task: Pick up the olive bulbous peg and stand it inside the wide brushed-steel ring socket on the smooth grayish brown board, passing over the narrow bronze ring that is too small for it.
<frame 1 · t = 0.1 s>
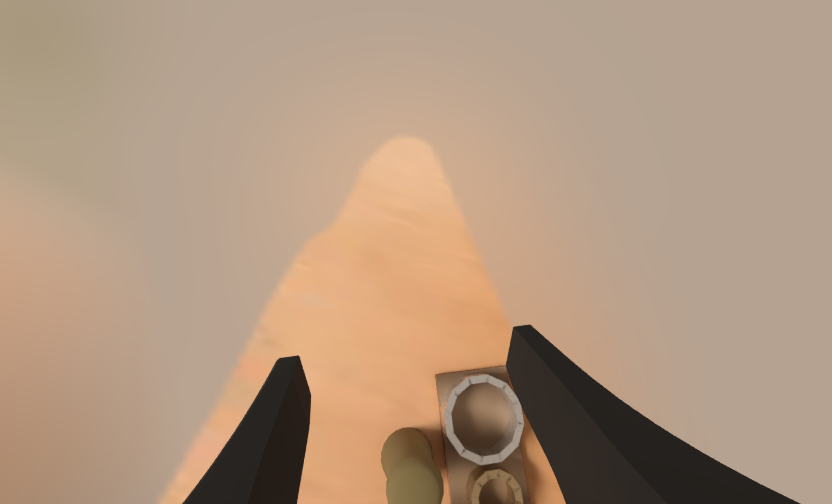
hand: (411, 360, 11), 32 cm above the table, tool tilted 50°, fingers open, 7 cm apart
wide steel ring: (478, 414, 40), resting on smooth grayish brown board
olive bulbous peg: (406, 455, 39), on the table
narrow bronze ring: (489, 490, 37), resting on smooth grayish brown board
smooth grayish brown board: (480, 444, 40), on the table
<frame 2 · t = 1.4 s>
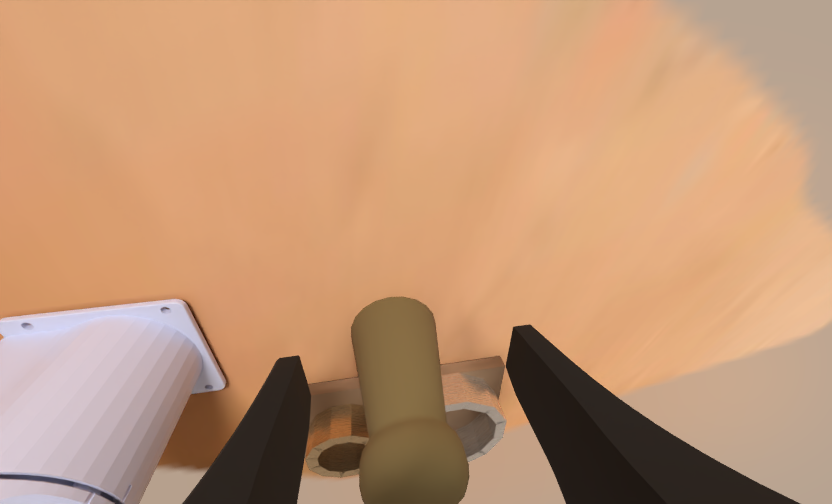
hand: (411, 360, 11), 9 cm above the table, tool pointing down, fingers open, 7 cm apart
wide steel ring: (441, 409, 28), resting on smooth grayish brown board
olive bulbous peg: (393, 327, 24), on the table
narrow bronze ring: (346, 425, 27), resting on smooth grayish brown board
smooth grayish brown board: (399, 405, 28), on the table
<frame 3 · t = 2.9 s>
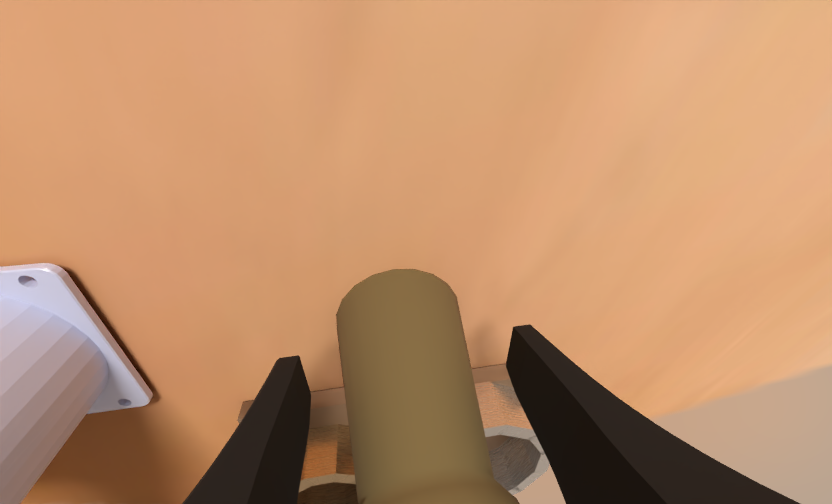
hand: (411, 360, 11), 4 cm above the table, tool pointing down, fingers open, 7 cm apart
wide steel ring: (462, 430, 20), resting on smooth grayish brown board
olive bulbous peg: (398, 316, 16), on the table
narrow bronze ring: (331, 452, 19), resting on smooth grayish brown board
smooth grayish brown board: (404, 424, 21), on the table
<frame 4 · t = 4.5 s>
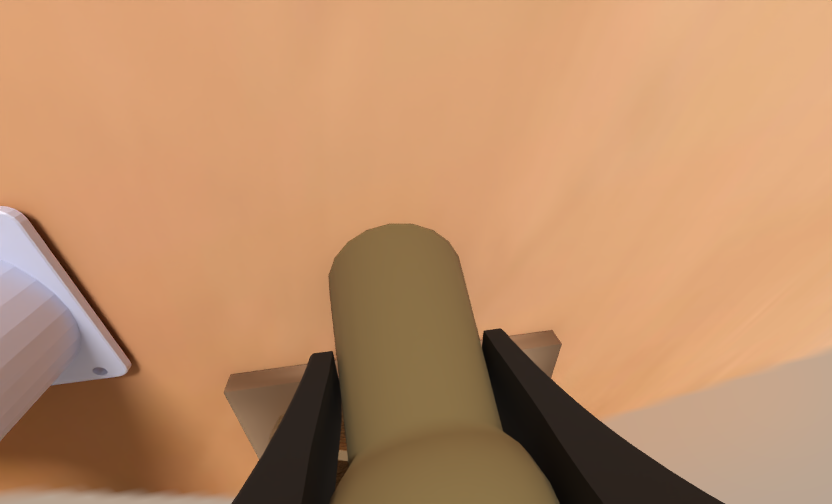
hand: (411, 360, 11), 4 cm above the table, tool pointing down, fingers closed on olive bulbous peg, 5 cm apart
olive bulbous peg: (396, 280, 15), on the table, touching gripper
narrow bronze ring: (326, 431, 18), resting on smooth grayish brown board
smooth grayish brown board: (404, 402, 20), on the table
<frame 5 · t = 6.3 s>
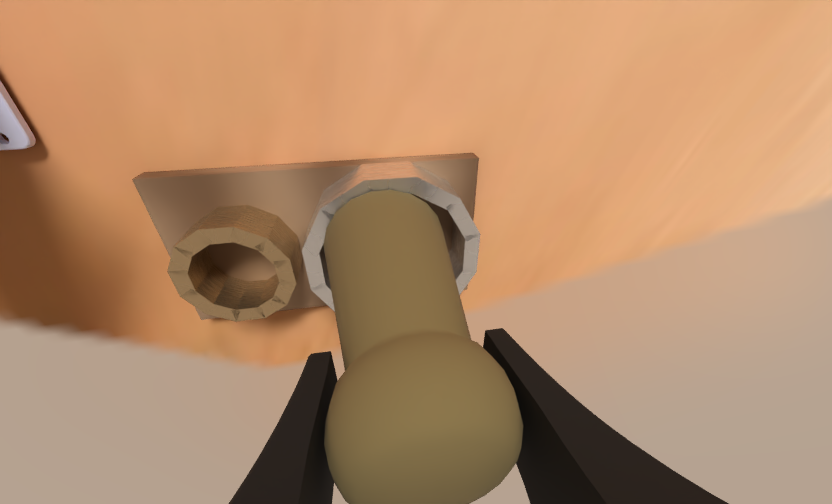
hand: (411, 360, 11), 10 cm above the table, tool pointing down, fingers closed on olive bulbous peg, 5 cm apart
wide steel ring: (390, 238, 19), resting on smooth grayish brown board
olive bulbous peg: (385, 244, 17), point 3 cm above the table, touching gripper
narrow bronze ring: (248, 251, 18), resting on smooth grayish brown board
smooth grayish brown board: (331, 236, 20), on the table
when the fingers open (7 cm above the table, at t = 8.1 s): olive bulbous peg stays where it is, resting on smooth grayish brown board.
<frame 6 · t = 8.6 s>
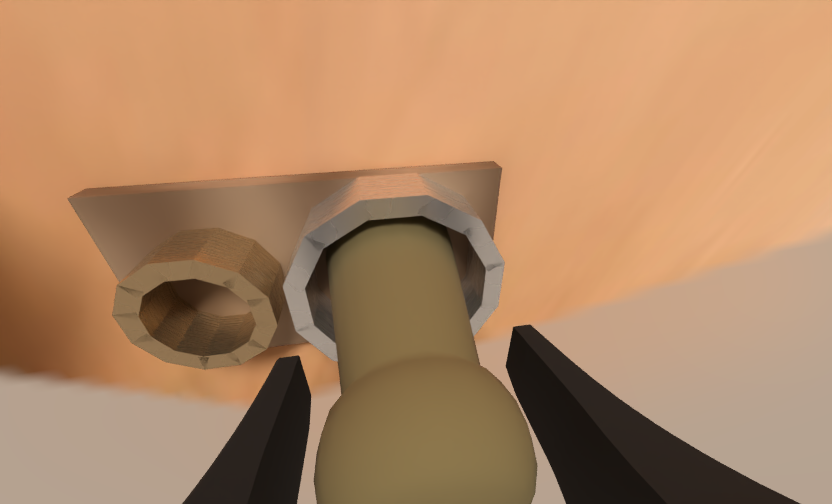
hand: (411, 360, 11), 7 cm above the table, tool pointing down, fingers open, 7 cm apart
wide steel ring: (393, 264, 16), resting on smooth grayish brown board
olive bulbous peg: (390, 254, 16), point 1 cm above the table, touching smooth grayish brown board
narrow bronze ring: (221, 282, 15), resting on smooth grayish brown board
smooth grayish brown board: (322, 261, 16), on the table
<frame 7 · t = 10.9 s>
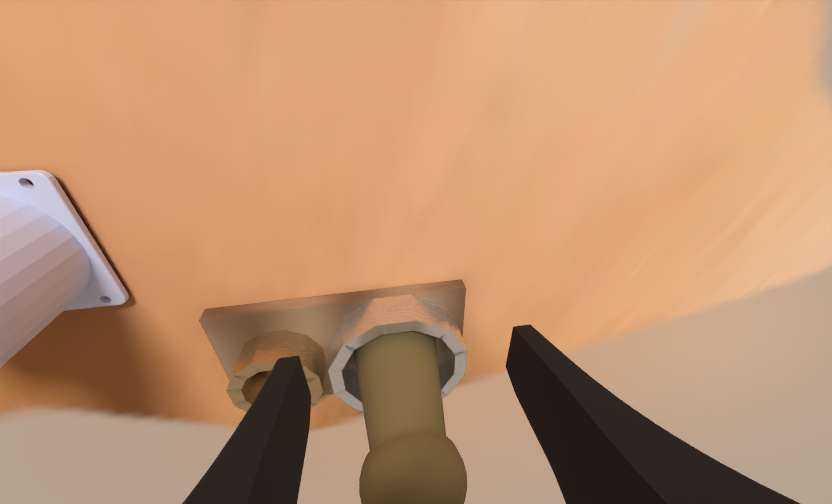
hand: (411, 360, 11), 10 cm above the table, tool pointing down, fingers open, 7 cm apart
wide steel ring: (396, 344, 24), resting on smooth grayish brown board
olive bulbous peg: (393, 337, 24), point 1 cm above the table, touching smooth grayish brown board
narrow bronze ring: (283, 359, 23), resting on smooth grayish brown board
smooth grayish brown board: (348, 340, 24), on the table
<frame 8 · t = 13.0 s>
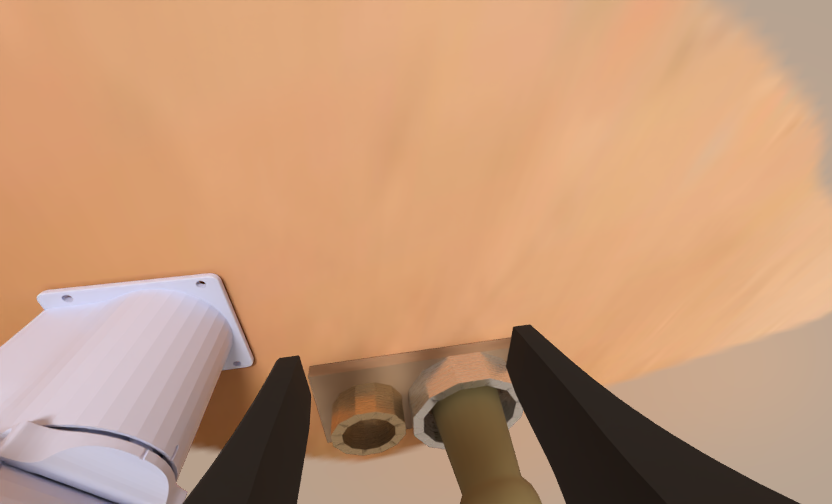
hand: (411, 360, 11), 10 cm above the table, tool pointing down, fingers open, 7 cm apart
wide steel ring: (461, 390, 28), resting on smooth grayish brown board
olive bulbous peg: (459, 384, 28), point 1 cm above the table, touching smooth grayish brown board
narrow bronze ring: (368, 405, 27), resting on smooth grayish brown board
smooth grayish brown board: (419, 386, 29), on the table
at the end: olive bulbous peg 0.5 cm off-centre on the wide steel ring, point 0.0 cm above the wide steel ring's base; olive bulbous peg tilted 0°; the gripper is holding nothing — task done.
